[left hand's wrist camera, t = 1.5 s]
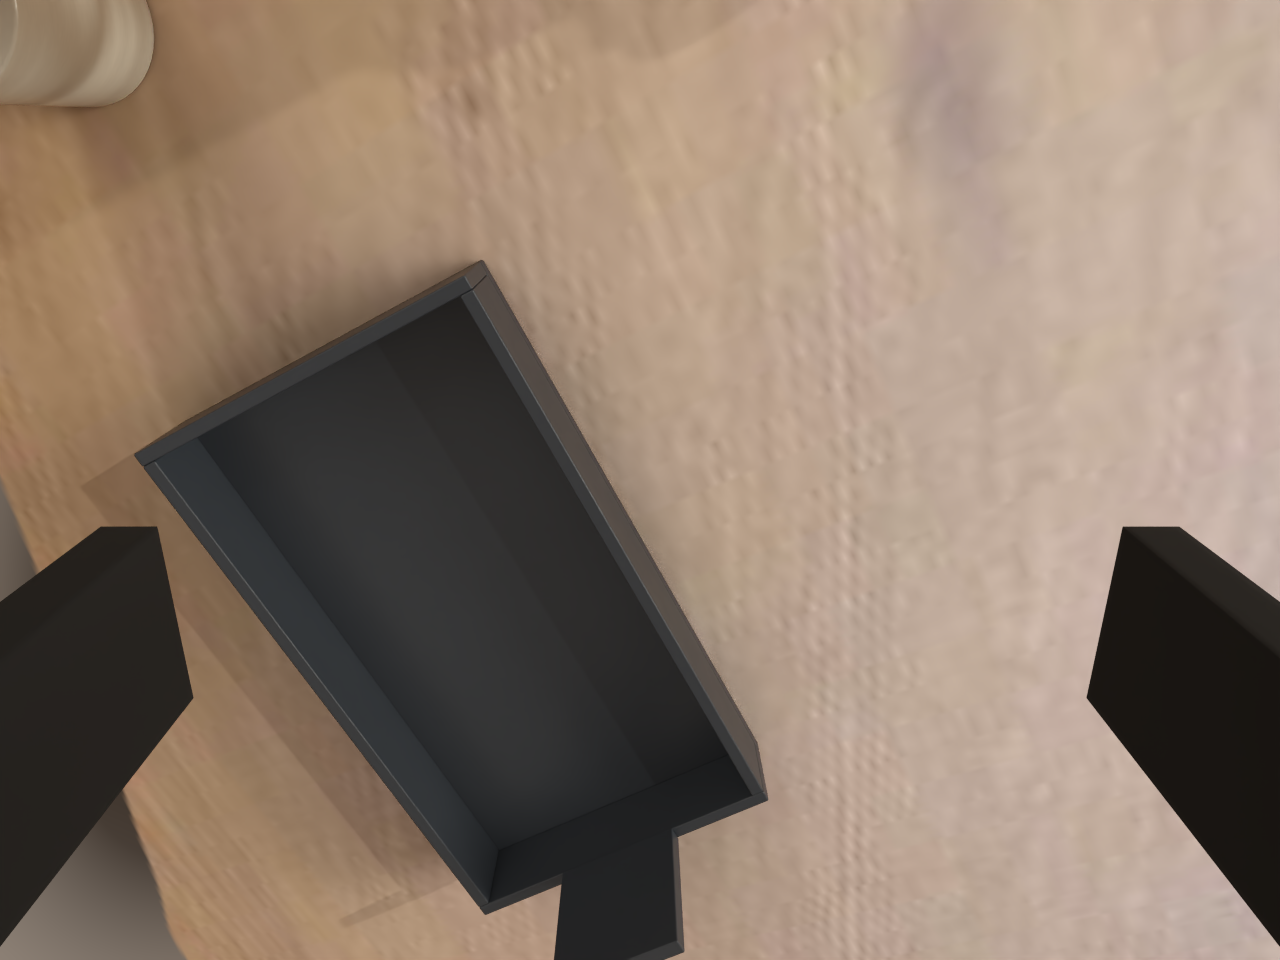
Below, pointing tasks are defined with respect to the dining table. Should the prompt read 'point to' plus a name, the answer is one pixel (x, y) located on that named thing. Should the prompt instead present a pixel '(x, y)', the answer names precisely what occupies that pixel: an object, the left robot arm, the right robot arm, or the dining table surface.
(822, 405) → the dining table surface
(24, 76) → the cylinder
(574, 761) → the tray
